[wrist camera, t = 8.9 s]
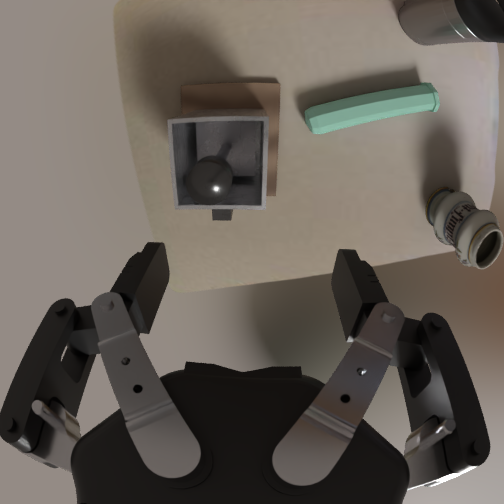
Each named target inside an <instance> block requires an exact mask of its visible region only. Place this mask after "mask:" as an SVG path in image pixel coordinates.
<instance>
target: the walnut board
mask: <svg viewBox="0 0 504 504" xmlns="http://www.w3.org/2000/svg"><path fill="white" fill-rule="evenodd" d="M181 105H182V115H183V114H185V113H189V112H192V111H195V110H206V109H264V110H265V111H266V113H267V114H268V116H269V132H268V163H267V190H266V196H276V181H277V161H278V138H279V112H280V84H277V83H211V84H195V85H184V86H181Z"/></svg>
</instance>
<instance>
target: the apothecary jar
mask: <svg viewBox="0 0 504 504" xmlns="http://www.w3.org/2000/svg"><path fill="white" fill-rule="evenodd" d="M426 217H427V220H428V222H429V223H430V224H431V225H432V226H433V227H434V232H435V235H436V237H437V238H438V240H439V241H440V242H442V243H443V244H446V245H453V246H454V247H455V249H456V255H457V257H458V260H459V261H460V262H461V263H462V264H463V265H465V266H468V267H473V266H476V267H477V268H479V269H485V268H487V267H489V266H490V265H491V264H492V263H493V262H494V261H495V260H496V258H497V256H498V255H499V253H500V251H501V249H502V245H503V234H502V232H501V231H500V229H499V223H498V220H497V218H496V216H495V215H494V214H493V213H492V212H490V211H488V210H479V209H477V208H476V206H475V203H474V201H473V199H472V198H471V197H470V196H469V195H468V194H467V193H464V192H455V191H454V190H449V189H448V187H443V188H440V189H438V190H436V191H435V192H434V193H433V194H432V195H431V197H430V199H429V201H428V203H427V206H426Z"/></svg>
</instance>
